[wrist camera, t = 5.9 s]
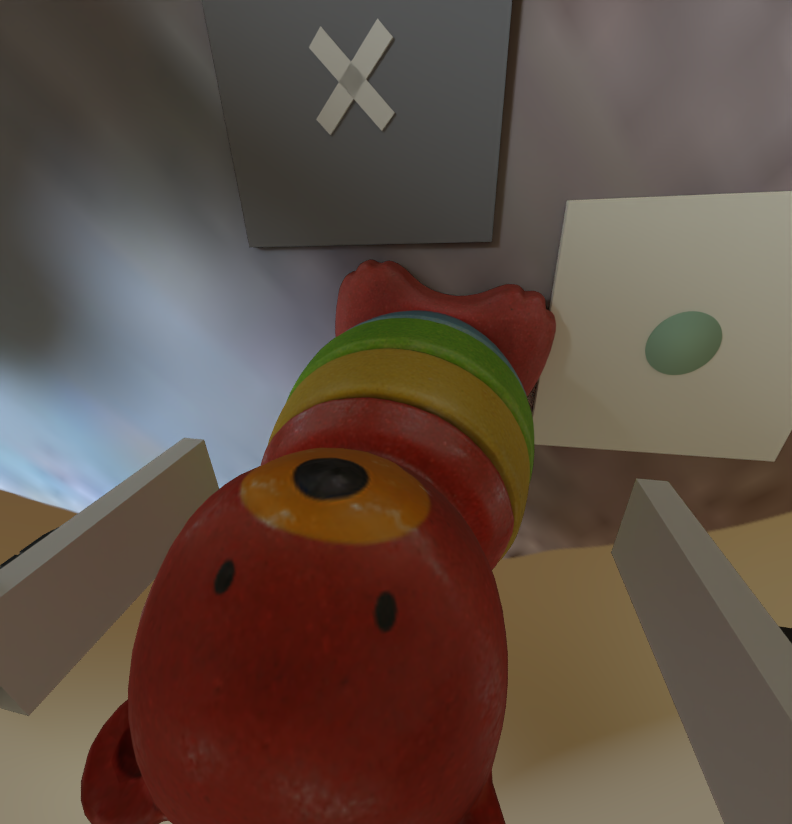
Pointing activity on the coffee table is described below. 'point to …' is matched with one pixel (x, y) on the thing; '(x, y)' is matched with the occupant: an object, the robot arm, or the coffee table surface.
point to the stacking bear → (344, 585)
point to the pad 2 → (672, 327)
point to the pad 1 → (362, 117)
